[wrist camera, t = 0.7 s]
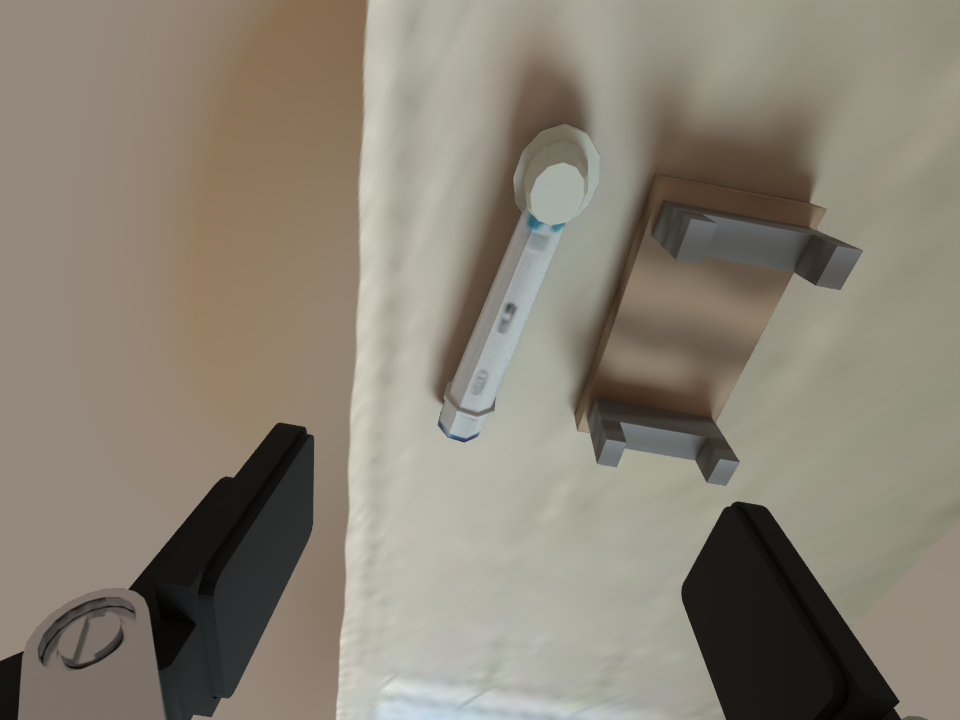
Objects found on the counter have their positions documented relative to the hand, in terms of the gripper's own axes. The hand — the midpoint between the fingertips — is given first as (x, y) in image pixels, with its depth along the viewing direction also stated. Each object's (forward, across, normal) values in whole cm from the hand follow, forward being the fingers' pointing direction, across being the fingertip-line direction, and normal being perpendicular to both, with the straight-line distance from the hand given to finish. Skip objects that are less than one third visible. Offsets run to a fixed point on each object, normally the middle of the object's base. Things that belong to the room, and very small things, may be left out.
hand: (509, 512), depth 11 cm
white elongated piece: (+28, -1, +4) cm, 28 cm away
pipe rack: (+28, -14, +4) cm, 31 cm away
